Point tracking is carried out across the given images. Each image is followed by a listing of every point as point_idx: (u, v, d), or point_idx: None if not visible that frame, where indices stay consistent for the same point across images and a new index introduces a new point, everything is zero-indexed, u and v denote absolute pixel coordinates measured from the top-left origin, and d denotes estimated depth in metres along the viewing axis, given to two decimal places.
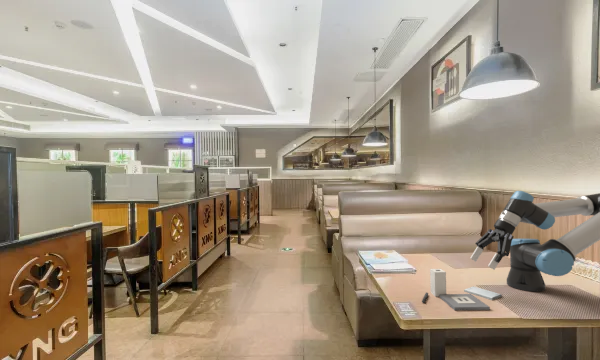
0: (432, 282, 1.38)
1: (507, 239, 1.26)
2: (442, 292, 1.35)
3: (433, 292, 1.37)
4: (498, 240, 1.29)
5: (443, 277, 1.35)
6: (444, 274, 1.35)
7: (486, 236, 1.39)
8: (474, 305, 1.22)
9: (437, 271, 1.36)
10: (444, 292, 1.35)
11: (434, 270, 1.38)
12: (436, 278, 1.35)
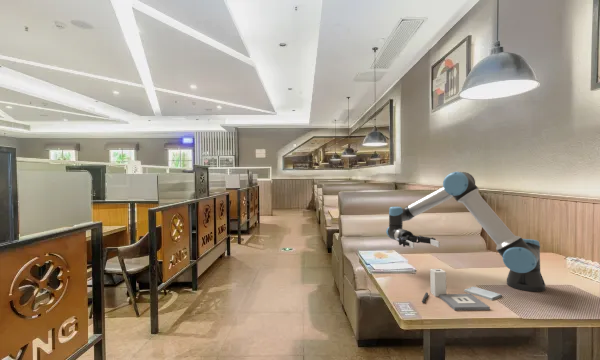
0: (432, 282, 1.38)
1: (398, 241, 1.59)
2: (442, 292, 1.35)
3: (433, 292, 1.37)
4: None
5: (443, 277, 1.35)
6: (444, 274, 1.35)
7: None
8: (474, 305, 1.22)
9: (437, 271, 1.36)
10: (444, 292, 1.35)
11: (434, 270, 1.38)
12: (436, 278, 1.35)
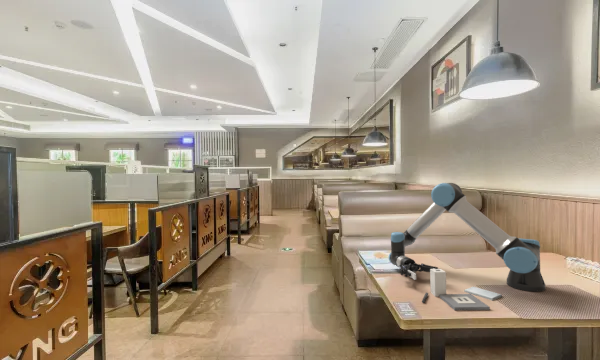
0: (432, 282, 1.38)
1: (400, 270, 1.57)
2: (442, 292, 1.35)
3: (433, 292, 1.37)
4: None
5: (443, 277, 1.35)
6: (444, 274, 1.35)
7: None
8: (474, 305, 1.22)
9: (437, 271, 1.36)
10: (444, 292, 1.35)
11: (434, 270, 1.38)
12: (436, 278, 1.35)
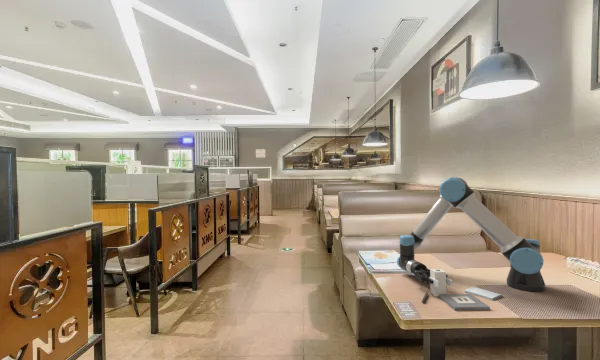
0: None
1: (415, 276, 1.45)
2: (442, 292, 1.35)
3: (433, 292, 1.37)
4: None
5: (443, 277, 1.35)
6: (444, 274, 1.35)
7: None
8: (474, 305, 1.22)
9: (437, 271, 1.36)
10: (444, 292, 1.35)
11: (434, 270, 1.38)
12: (436, 278, 1.35)
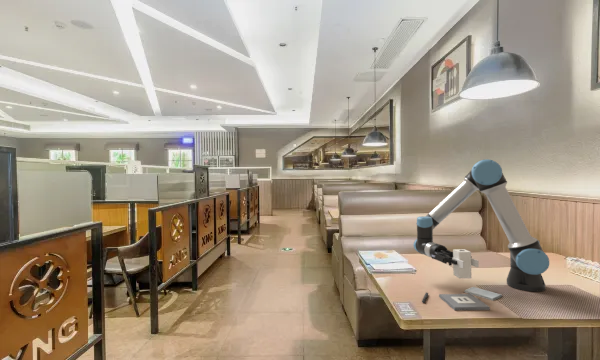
0: None
1: (435, 258, 1.35)
2: (467, 274, 1.25)
3: (457, 274, 1.27)
4: None
5: (468, 258, 1.25)
6: (469, 254, 1.25)
7: None
8: (474, 305, 1.22)
9: (461, 251, 1.26)
10: (469, 274, 1.25)
11: (458, 250, 1.28)
12: (461, 259, 1.25)
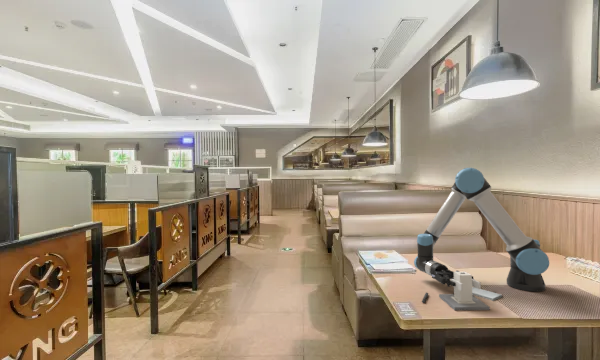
0: None
1: (435, 278, 1.36)
2: (468, 297, 1.25)
3: (458, 297, 1.27)
4: None
5: (469, 281, 1.25)
6: (470, 277, 1.25)
7: None
8: (474, 305, 1.22)
9: (462, 274, 1.26)
10: (470, 297, 1.25)
11: (458, 273, 1.28)
12: (462, 282, 1.25)
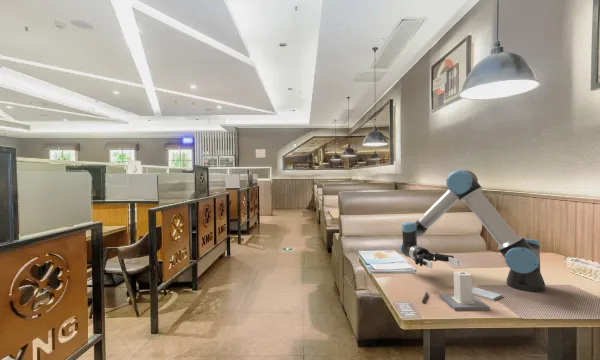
0: (456, 286, 1.28)
1: (414, 259, 1.51)
2: (468, 297, 1.25)
3: (458, 297, 1.27)
4: None
5: (469, 281, 1.25)
6: (470, 277, 1.25)
7: None
8: (474, 305, 1.22)
9: (462, 274, 1.26)
10: (470, 297, 1.25)
11: (458, 273, 1.28)
12: (462, 282, 1.25)
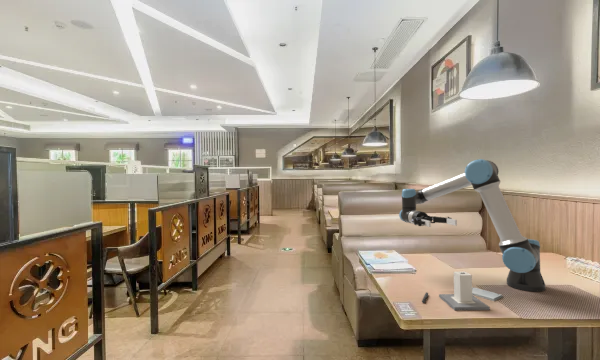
0: (456, 286, 1.28)
1: (413, 221, 1.54)
2: (468, 297, 1.25)
3: (458, 297, 1.27)
4: None
5: (469, 281, 1.25)
6: (470, 277, 1.25)
7: None
8: (474, 305, 1.22)
9: (462, 274, 1.26)
10: (470, 297, 1.25)
11: (458, 273, 1.28)
12: (462, 282, 1.25)
